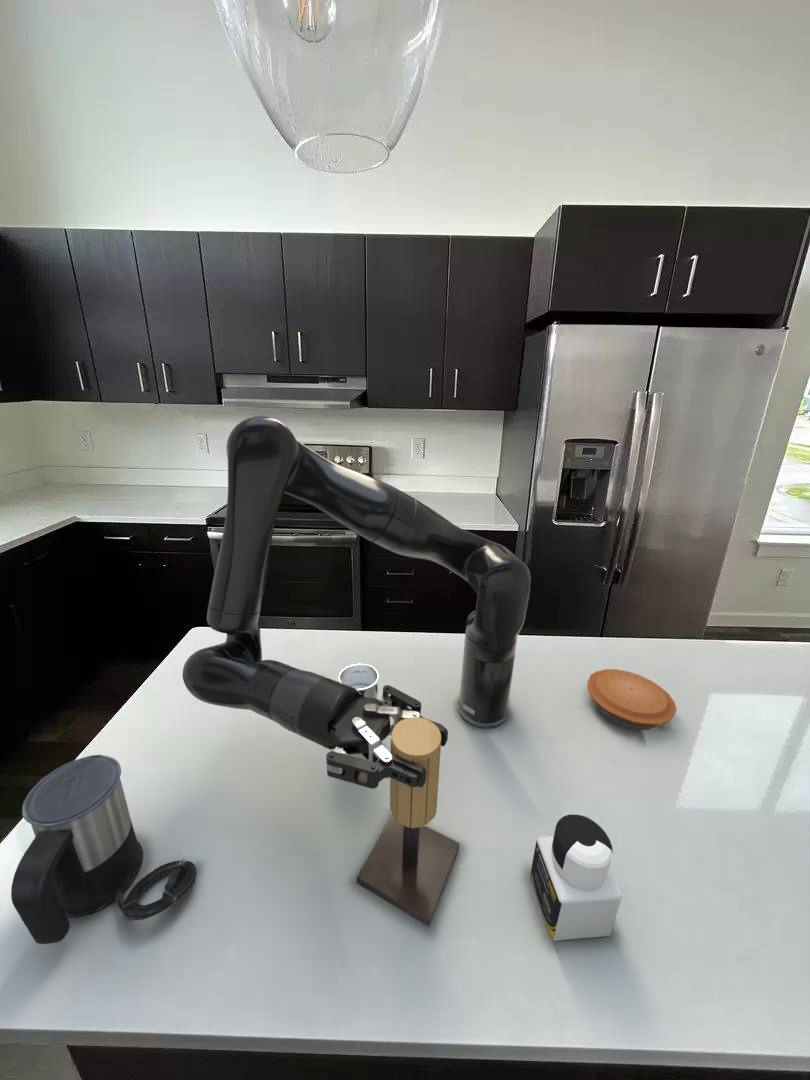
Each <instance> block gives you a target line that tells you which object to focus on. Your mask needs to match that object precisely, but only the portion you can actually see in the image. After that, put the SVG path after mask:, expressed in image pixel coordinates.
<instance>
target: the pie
mask: <svg viewBox="0 0 810 1080" xmlns="http://www.w3.org/2000/svg"><path fill="white" fill-rule="evenodd" d="M586 688H587V691H588V693H589V695H590V697H591V698H592V699H593V701H594V702H595V704H596V706H597V708H598V710H599V711H600V712H601V714H602V715H604V716H605V717H606V718H607V719H609V720H610V721H612V722H613V723H615V724H617V725H619V726H621V727H624V728H627V729H630V730H636V731H649V730H651V729H654V728H656V727H659V726H661V725H664V724H667V723H670V722H671V720H672V719H673V718H674V717H675V715H676V713H677V706H676V702H675V701H674V699H673V698H672V696H671V695H670V694H669V693H668V692H667V691H666V690H665V689H663V687H661V686H660V685H659V684H657V683H655V682H654V681H652V680H651V679H649V678H647V677H644V676H642V675H641V674H638V673H635V672H632V671H629V670H628V671H627V670H622V669H617V668H609V669H608V668H606V669H601V670H596V671H595V672H592V673H591V674H590V675H589V677H588V680H587V686H586Z"/></svg>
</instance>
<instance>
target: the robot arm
mask: <svg viewBox="0 0 810 1080" xmlns="http://www.w3.org/2000/svg"><path fill="white" fill-rule="evenodd" d="M225 448H226V449H225V450H226V451H225V452H226V459H227V498H226V499H227V500H226V510H225V511H226V512H225V520H224V526H223V527H224V528H223V531H222V536H221V541H220V545H219V551H218V555H217V559H216V564H215V567H214V573H213V578H212V582H211V590H210V594H209V598H208V599H209V600H208V605H207V610H206V623H207V625H208V626H209V628H210V629H212V630H213V631H215V632H218V633H221V634H226V638H225V641H224V642H222V643H219V644H215V645H210V646H207V647H204V648H201V649H199V650H197V651H195V652H193V653H192V654H190V656H189V657H188V658H187V660H185V663H184V665H183V667H182V680H183V684H184V686H185V689H186V690H187V691H188V692H189V693H190V694H191V695H192V696H193V697H194V698H195V699H197V700H199V701H201V702H203V703H206V704H209V705H213V706H218V707H225V708H229V709H230V708H231V709H236V710H246V711H247V710H248V711H252V712H254V713H255V714H258V715H259V716H262V717H263V718H266V719H268V720H270V721H273V722H275V723H276V724H278V725H280V726H281V727H282V728H284V729H285V730H287V731H289V732H291V733H293V734H295V735H298V736H299V737H302V738H304V739H307V740H308V741H311V742H313V743H315V744H317V745H319V746H322V747H323V748H326V749H327V750H331V751H329V752H327V753H326V756H325V760H326V774H327V776H328V777H330V778H333V779H337V780H340V781H344V782H347V783H349V784H350V783H351V784H354V785H357V786H360V787H365V788H367V789H371V790H375V789H377V788H378V787H379V784H380V782H381V781H382V780H385V779H390V778H393V779H395V780H397V781H399V782H402V783H404V784H406V785H408V786H410V787H417V786H418V787H423V786H424V784H425V782H426V769H425V768H424V767H422V766H420V765H418V764H415V763H413V762H410V761H408V760H405V759H403V758H401V757H399V756H397V755H395V757H394V758H392V755H391V752H390V751H389V750H388V749H387V748H386V747H385V746H384V745H383V743H382V742H383V741H384V740H385V739H386V738H388V736H392V730H393V728H394V727H395V725H396V724H397V723H398V722H400V721H401V720H403V719H406V718H410V717H420V718H424V719H427V720H429V721H431V722H433V723H434V724H435V725H436V726H437V727H438V729H439V731H440V733H441V747H445V746H446V745H447V743H448V736H449V731H448V729H447V728H446V727H445V726H444V725H443V724H442V723H439V722H436V721H434V720H431V719H428V718H425V717H423V715H422V702H421V701H420V700H418V699H416V698H414V697H412V696H410V695H409V694H407V693H405V692H403V691H401V690H400V689H398V688H396V687H394V686H392V685H389V684H386V685H384V686H383V687H382V692H381V693H380V695H379V696H378V697H377V698H367V697H363V696H362V695H361V694H360V693H359V692H358V691H357V690H356V689H355V688H353V687H350V686H348V685H345V684H342V683H340V682H338V680H334V679H331V678H329V677H326V676H324V675H321V674H318V673H316V672H313V671H308V670H304V669H299V668H297V667H294V666H292V665H289V664H287V663H284V662H281V661H278V660H275V659H263V649H262V637H261V626H260V615H261V611H262V605H263V600H264V595H265V589H266V585H267V577H268V570H269V563H270V562H269V561H270V553H271V546H272V539H273V534H274V529H275V526H276V525H275V524H276V521H277V516H278V513H279V509H280V506H281V503H282V500H283V497H284V495H289V496H290V497H293V498H295V499H298V500H300V501H303V502H305V503H307V504H309V505H311V506H313V507H314V508H317V509H318V510H320V511H321V512H322V513H324V514H325V515H327V516H328V517H329V518H331V519H332V520H334V521H335V522H337V523H338V524H340V525H341V526H343V527H344V528H346V529H348V530H349V531H351V532H352V533H354V534H355V535H357V536H359V537H361V538H363V539H365V540H366V541H368V542H371V543H372V544H374V545H376V546H378V547H381V548H382V549H385V550H387V551H389V552H390V553H393V554H397V555H398V556H402V557H406V558H411V559H416V560H423V561H428V562H433V563H435V564H437V565H440V566H442V567H444V568H446V569H447V570H449V571H451V572H452V573H454V574H456V575H457V576H459V577H460V578H462V580H464V581H465V582H466V583H468V584H469V585H470V587H471V588H472V589H473V590H474V592H475V593H476V603H475V610H472V612H470V613H469V614H468V615H467V617H466V621H465V631H464V643H463V653H462V654H463V655H462V665H461V677H460V689H459V699H458V706H457V709H458V713H459V715H460V717H461V718H463V720H465V721H466V722H467V723H469V724H470V725H473V726H475V727H479V728H485V729H491V728H497V727H499V726H501V725H503V724H504V723H505V722H506V720H507V718H508V713H509V702H510V696H511V695H510V694H511V687H512V680H513V672H514V666H515V659H516V652H517V651H516V650H517V643H518V637H519V632H520V631H521V630H522V628H523V626H524V623H525V621H526V616H527V610H528V606H529V601H530V596H531V595H530V594H531V588H532V576H531V572H530V569H529V567H528V566H527V565H526V564H525V562H524V561H522V560H521V559H520V558H519V557H518V556H517V555H516V554H515V553H513V552H512V551H511V550H510V549H508V548H507V547H505V545H502V544H500V543H497V542H495V541H492V540H489V539H487V538H484V537H481V536H479V535H477V534H475V533H472V532H470V531H468V530H466V529H463V528H461V527H459V526H458V525H456V524H454V523H453V522H451V521H450V520H449V519H447V518H446V517H444V516H443V515H442V514H440V513H439V512H437V511H435V509H433V508H431V507H430V506H428V505H427V504H424V503H423V502H421V501H420V500H418V499H416V498H415V497H413V496H411V495H410V494H407V493H406V492H404V491H402V490H400V489H398V488H397V487H394V486H392V485H391V484H389V483H386V482H384V481H382V480H379V479H377V478H375V477H372V476H370V475H367V474H365V473H361V472H359V471H357V470H353V469H350V468H347V467H344V466H342V465H340V464H337V463H336V462H333V461H332V460H329V459H328V458H326V457H324V456H323V455H321V454H320V453H318V452H316V451H314V449H311V448H310V447H309V446H307V445H305V444H304V443H302V441H299V440H298V439H297V438H296V437H295V435H294V433H293V432H292V431H291V429H290V428H289V427H288V426H287V425H286V424H284V423H283V422H282V421H280V420H279V419H277V418H274V417H271V416H267V415H255V416H251V417H247V418H245V419H243V420H241V421H240V422H239V423H237V424H236V426H234V427H233V429H232V430H231V432H230V434H229V436H228V438H227V442H226V447H225ZM391 718H392V719H393V723H392V724H391ZM351 754H360V755H361V756H362V757H363V759H361V758H357V757H353V756H349V755H351Z"/></svg>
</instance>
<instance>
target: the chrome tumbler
mask: <svg viewBox="0 0 810 1080" xmlns="http://www.w3.org/2000/svg"><path fill="white" fill-rule="evenodd" d="M379 673H380V672H379V671H378V670H377V669H376V668H375V667H374V666H372V665H370V664H366V663H354V664H350V665H347V666H345V667H344V668H342V669H341V670H340V671H339V673H338V676H337V682H340V683H342V684H345V685H348V686H350V687H353V688H355V689H356V690H357V691H358V692H359V693H360V694H361V695H362V696H363V697H367V698H377V697H378V696H379V695H381V685H380V674H379ZM349 756H353V757H357V758H361V759H363V757H362V756H361V755H360V754H351V755H349Z"/></svg>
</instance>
